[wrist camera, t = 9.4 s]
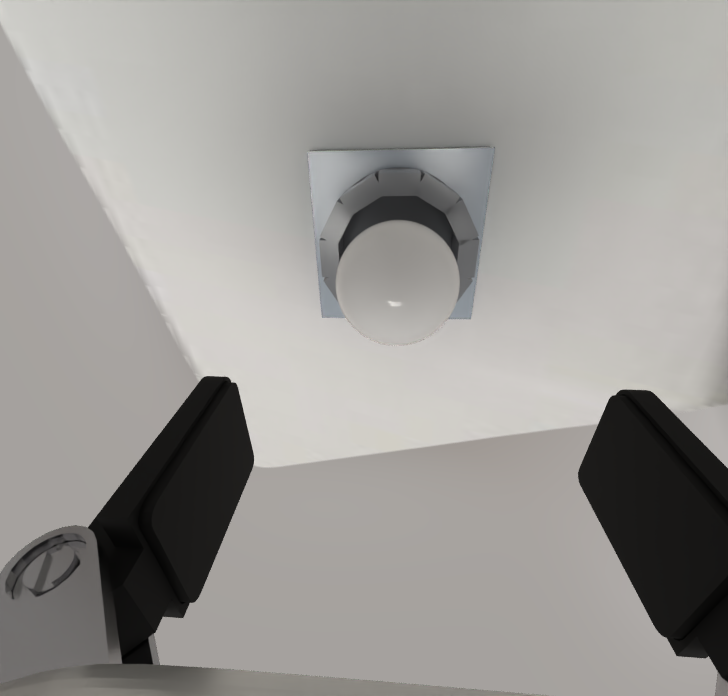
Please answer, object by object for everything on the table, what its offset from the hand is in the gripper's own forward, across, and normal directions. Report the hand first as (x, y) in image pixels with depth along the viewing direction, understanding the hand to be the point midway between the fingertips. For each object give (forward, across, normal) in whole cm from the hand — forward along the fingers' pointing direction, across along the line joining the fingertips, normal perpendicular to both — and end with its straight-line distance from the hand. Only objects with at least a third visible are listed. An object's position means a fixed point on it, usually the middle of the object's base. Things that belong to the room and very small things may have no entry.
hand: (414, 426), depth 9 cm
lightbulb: (+19, 0, 0) cm, 19 cm away
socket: (+20, 0, 0) cm, 21 cm away
